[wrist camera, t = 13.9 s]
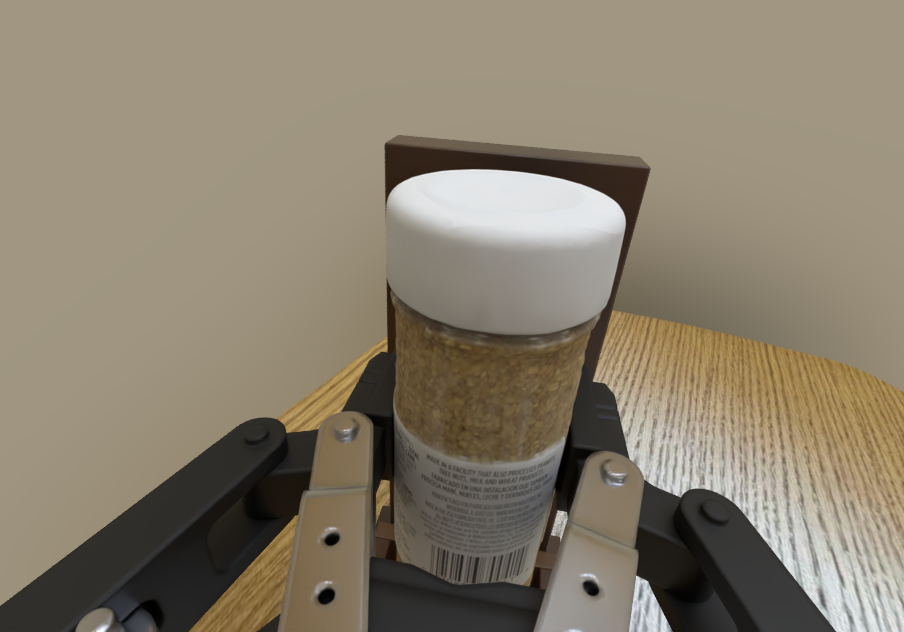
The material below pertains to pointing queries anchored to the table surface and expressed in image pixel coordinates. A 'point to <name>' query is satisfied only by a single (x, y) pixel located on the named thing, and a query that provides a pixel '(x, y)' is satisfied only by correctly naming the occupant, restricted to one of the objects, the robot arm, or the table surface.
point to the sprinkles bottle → (489, 358)
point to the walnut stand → (593, 170)
